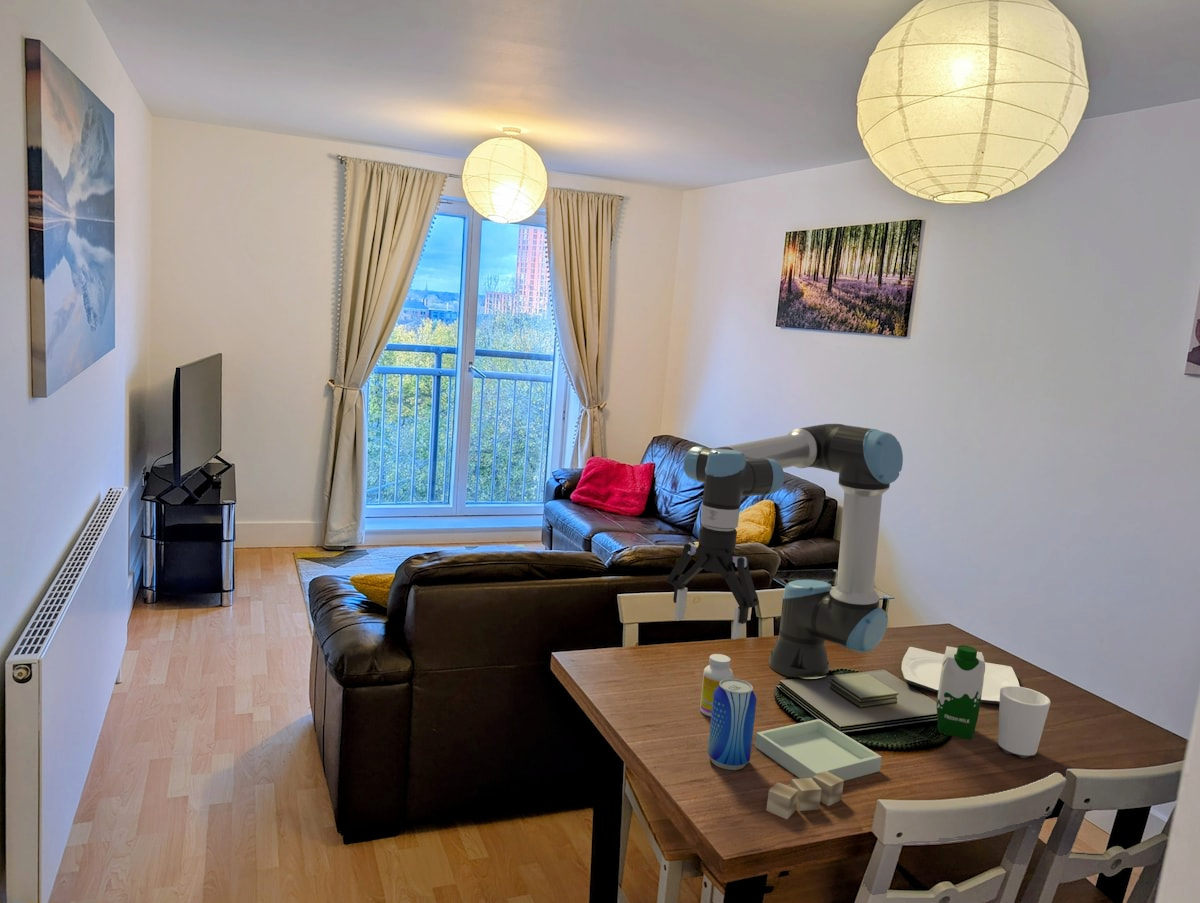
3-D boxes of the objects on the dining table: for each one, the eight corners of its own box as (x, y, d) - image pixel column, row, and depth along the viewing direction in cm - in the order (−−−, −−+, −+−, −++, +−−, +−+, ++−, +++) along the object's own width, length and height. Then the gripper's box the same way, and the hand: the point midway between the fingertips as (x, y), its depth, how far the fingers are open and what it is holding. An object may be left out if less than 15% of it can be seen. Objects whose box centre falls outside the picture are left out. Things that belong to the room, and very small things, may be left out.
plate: (897, 689, 216) (898, 679, 216) (903, 653, 243) (904, 643, 242) (1023, 717, 206) (1024, 706, 206) (1015, 675, 232) (1016, 666, 232)
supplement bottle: (728, 721, 191) (734, 665, 189) (698, 716, 192) (703, 661, 190) (730, 708, 197) (735, 654, 195) (701, 703, 198) (706, 650, 197)
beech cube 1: (823, 790, 165) (825, 770, 164) (841, 800, 162) (843, 780, 161) (810, 796, 162) (813, 776, 162) (828, 806, 159) (831, 786, 159)
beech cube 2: (808, 797, 162) (810, 777, 161) (819, 809, 158) (821, 789, 157) (789, 799, 161) (791, 779, 160) (799, 811, 157) (801, 790, 156)
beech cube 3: (775, 802, 159) (777, 781, 159) (795, 810, 157) (798, 790, 156) (766, 811, 156) (768, 790, 155) (787, 819, 154) (789, 798, 153)
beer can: (703, 750, 177) (710, 675, 174) (743, 751, 177) (751, 677, 175) (711, 771, 168) (720, 693, 166) (754, 772, 169) (762, 695, 167)
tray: (817, 732, 189) (819, 718, 188) (879, 771, 174) (881, 756, 173) (754, 746, 180) (756, 732, 179) (814, 788, 165) (816, 773, 164)
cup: (1039, 767, 181) (1048, 709, 179) (988, 752, 186) (997, 696, 184) (1043, 749, 189) (1052, 694, 187) (995, 735, 194) (1003, 681, 192)
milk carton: (934, 734, 192) (946, 648, 189) (932, 717, 201) (944, 635, 198) (976, 743, 189) (990, 656, 186) (973, 726, 198) (986, 642, 195)
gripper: (656, 516, 178) (646, 615, 181) (765, 542, 163) (752, 650, 166) (676, 512, 184) (666, 608, 187) (783, 537, 169) (770, 641, 172)
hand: (707, 628), depth 177 cm, fingers open, 13 cm apart
